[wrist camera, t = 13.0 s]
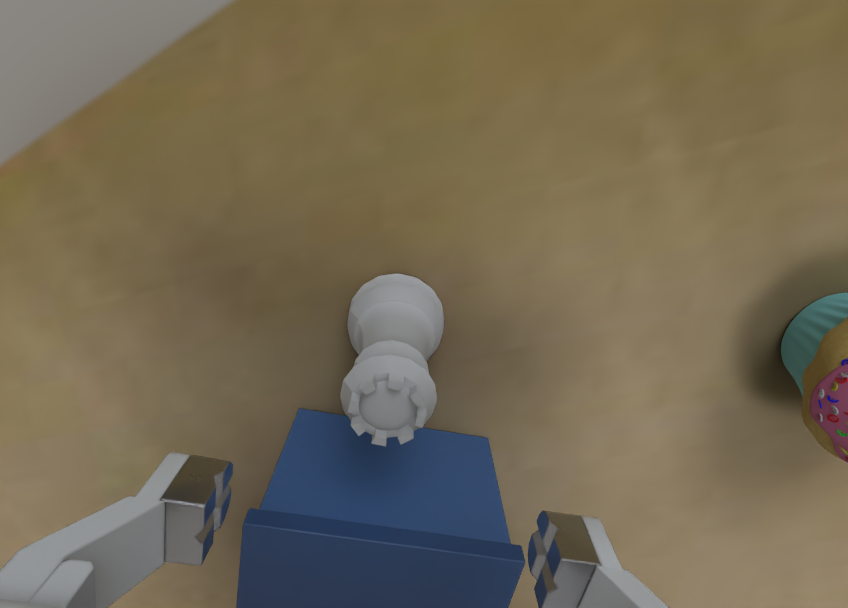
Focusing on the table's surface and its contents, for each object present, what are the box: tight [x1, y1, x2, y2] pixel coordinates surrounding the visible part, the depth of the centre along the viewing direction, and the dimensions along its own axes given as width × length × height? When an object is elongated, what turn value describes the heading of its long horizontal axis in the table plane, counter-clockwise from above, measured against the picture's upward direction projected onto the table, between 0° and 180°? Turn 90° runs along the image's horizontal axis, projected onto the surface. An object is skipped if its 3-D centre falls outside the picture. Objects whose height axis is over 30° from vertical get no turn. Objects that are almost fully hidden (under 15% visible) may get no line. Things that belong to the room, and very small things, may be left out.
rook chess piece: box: [340, 273, 444, 446], centre depth 19 cm, size 4×4×8 cm
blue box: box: [236, 408, 525, 608], centre depth 24 cm, size 13×11×8 cm
